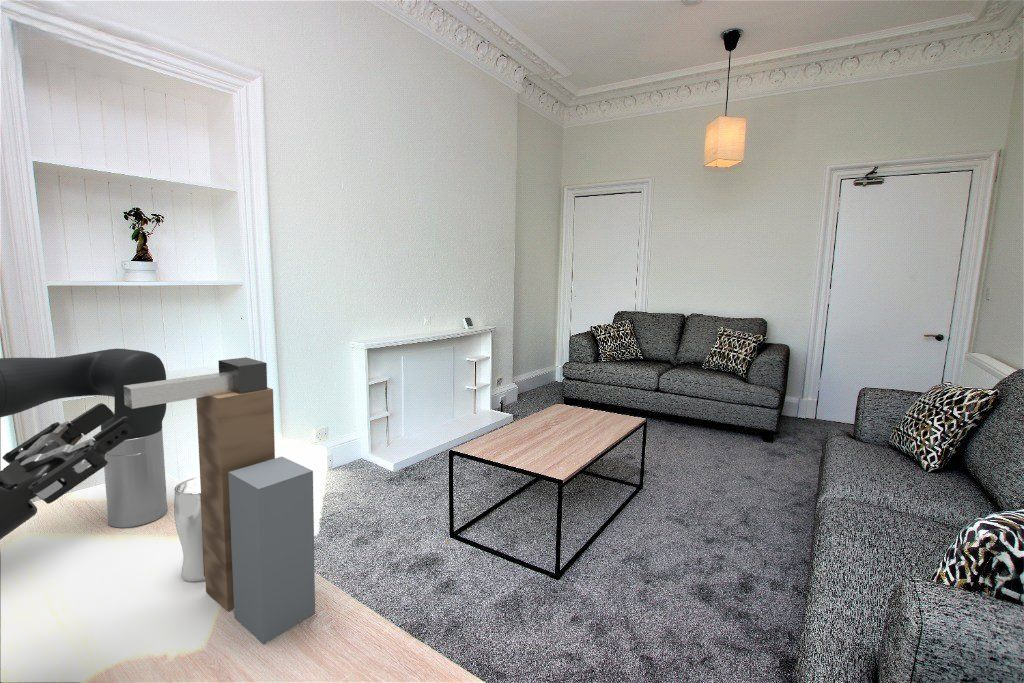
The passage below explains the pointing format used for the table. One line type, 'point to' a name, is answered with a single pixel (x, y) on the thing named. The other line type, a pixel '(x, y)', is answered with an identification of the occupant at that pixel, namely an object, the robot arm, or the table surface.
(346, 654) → the table surface
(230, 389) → the blocky hammer
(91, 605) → the table surface
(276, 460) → the grey tall block
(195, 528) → the beer glass
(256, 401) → the tall wooden post
